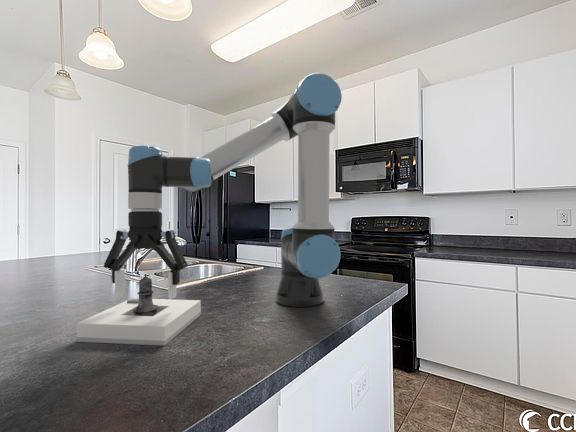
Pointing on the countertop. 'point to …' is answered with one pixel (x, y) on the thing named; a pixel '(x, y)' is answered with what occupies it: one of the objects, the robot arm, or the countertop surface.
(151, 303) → the dark gray chess piece
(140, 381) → the countertop surface
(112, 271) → the robot arm
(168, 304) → the socket plate
